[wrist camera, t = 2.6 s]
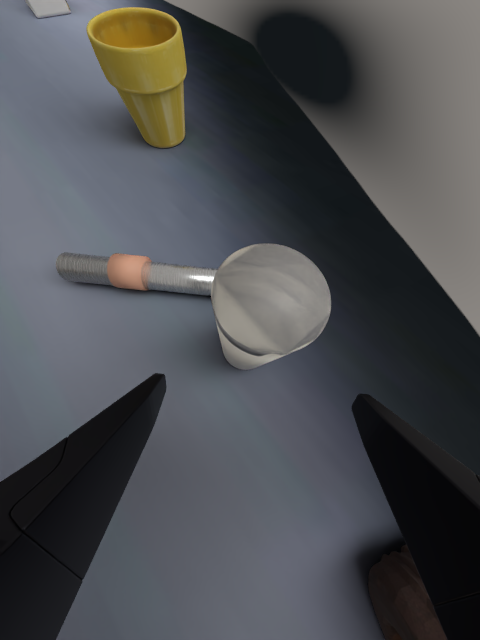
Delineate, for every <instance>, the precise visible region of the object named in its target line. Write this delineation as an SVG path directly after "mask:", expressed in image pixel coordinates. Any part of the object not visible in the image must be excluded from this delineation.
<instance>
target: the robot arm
mask: <svg viewBox="0 0 480 640" xmlns="http://www.w3.org/2000/svg"><path fill="white" fill-rule="evenodd" d="M165 392H166V379H165V375H164V374H159V373H155V374H153V375H152V376H151V377H149V378H148V379H146V380H145V381H144V382H142V383H141V384H139V385H138V386H137V387H135V388H134V389H133V390H131V391H130V392H128V393H127V394H126V395H124V396H123V397H121V398H120V399H119V400H117V401H116V402H114V403H113V404H112V405H110V406H109V407H108V408H106V409H105V410H103V411H102V412H101V413H99V414H98V415H96V416H95V417H94V418H92V419H91V420H89V421H88V422H87V423H85V424H84V425H83V426H81V427H80V428H78V429H77V430H76V431H74V432H73V433H71V434H70V435H69V436H68V437H66V438H64V439H63V440H62V441H60V442H59V443H57V444H56V445H55V446H53V447H52V448H50V449H49V450H47V451H46V452H45V453H43V454H42V455H40V456H39V457H37V458H36V459H35V460H33V461H32V462H30V463H29V464H27V465H26V466H24V467H23V468H21V469H20V470H18V471H17V472H15V473H13V474H12V475H10V476H9V477H7V478H6V479H4V480H3V481H1V482H0V640H56V638H57V636H58V634H59V631H60V629H61V627H62V625H63V623H64V621H65V618H66V616H67V614H68V612H69V610H70V608H71V605H72V603H73V601H74V599H75V597H76V595H77V592H78V590H79V588H80V586H81V584H82V580H83V579H84V577H85V575H86V572H87V570H88V568H89V566H90V564H91V562H92V559H93V557H94V555H95V553H96V551H97V549H98V546H99V544H100V542H101V540H102V538H103V536H104V533H105V531H106V529H107V527H108V525H109V523H110V520H111V518H112V516H113V514H114V512H115V510H116V507H117V505H118V503H119V501H120V499H121V497H122V494H123V492H124V490H125V488H126V486H127V483H128V481H129V479H130V477H131V475H132V473H133V470H134V468H135V466H136V464H137V462H138V460H139V457H140V455H141V453H142V451H143V449H144V447H145V444H146V442H147V440H148V438H149V436H150V434H151V431H152V429H153V427H154V424H155V421H156V419H157V416H158V413H159V410H160V407H161V404H162V401H163V398H164V395H165ZM352 412H353V415H354V418H355V421H356V424H357V427H358V430H359V433H360V436H361V439H362V442H363V445H364V447H365V450H366V452H367V455H368V457H369V459H370V462H371V464H372V466H373V468H374V471H375V473H376V475H377V478H378V480H379V482H380V485H381V487H382V489H383V492H384V494H385V496H386V499H387V501H388V503H389V506H390V508H391V510H392V513H393V515H394V517H395V519H396V522H397V524H398V526H399V529H400V531H401V533H402V536H403V538H404V540H405V543H406V545H407V547H408V550H409V552H410V554H411V557H412V559H413V561H414V564H415V566H416V568H417V570H418V573H419V575H420V577H421V580H422V582H423V584H424V587H425V589H426V591H427V594H428V596H429V598H430V601H431V603H432V605H433V608H434V610H435V613H436V615H437V617H438V620H439V622H440V624H441V627H442V629H443V631H444V633H445V636H446V638H447V640H480V477H479V476H478V475H475V474H474V472H472V471H471V470H470V469H468V468H467V467H466V466H464V465H463V464H462V463H460V462H459V461H458V460H456V459H455V458H454V457H452V456H451V455H450V454H448V453H447V452H446V451H444V450H443V449H442V448H440V447H439V446H437V445H436V444H435V443H433V442H432V441H431V440H429V439H428V438H427V437H425V436H424V435H423V434H421V433H420V432H419V431H417V430H416V429H415V428H413V427H412V426H411V425H409V424H408V423H407V422H405V421H404V420H402V419H401V418H400V417H398V416H397V415H396V414H394V413H393V412H392V411H390V410H389V409H388V408H386V407H385V406H384V405H382V404H381V403H380V402H378V401H377V400H376V399H374V398H373V397H372V396H370V395H368V394H358V395H357V397H356V399H355V401H354V402H353V404H352Z"/></svg>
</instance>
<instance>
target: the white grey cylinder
mask: <svg viewBox="0 0 480 640" xmlns="http://www.w3.org/2000/svg"><path fill="white" fill-rule="evenodd" d="M211 302H212V306H213V311H214V315H215V319H216V324H217V328H218V332H219V337H220V341H221V345H222V350H223V354H224V356H225V358H226V360H227V361H228V362H229V363H230V364H231V365H232V366H234V367H235V368H237V369H241V370H251V369H254V368H256V367H259V366H261V365H263V364H266V363H268V362H270V361H273V360H275V359H278V358H280V357H282V356H285V355H287V354H289V353H292V352H294V351H296V350H299V349H301V348H303V347H305V346H307V345H308V344H310V343H311V342H312V341H314V340H315V339H316V338H317V337H318V336H319V335H320V333H321V332H322V330H323V329H324V328H325V325H326V323H327V321H328V318H329V315H330V309H331V297H330V291H329V288H328V285H327V282H326V280H325V278H324V276H323V275H322V273H321V272H320V270H319V269H318V268H317V266H316V265H315V264H314V263H313V262H312V261H311V260H309V259H308V258H307V257H306V256H304V255H303V254H301V253H299V252H297V251H296V250H293V249H291V248H288V247H285V246H282V245H276V244H256V245H251V246H248V247H245V248H242V249H240V250H238V251H236V252H235V253H233V254H232V255H230V256H229V257H228V258H227V259H226V260H225V261H224V262H223V263H222V264H221V266H220V267H219V268H218V270H217V272H216V274H215V277H214V279H213V283H212V288H211Z"/></svg>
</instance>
